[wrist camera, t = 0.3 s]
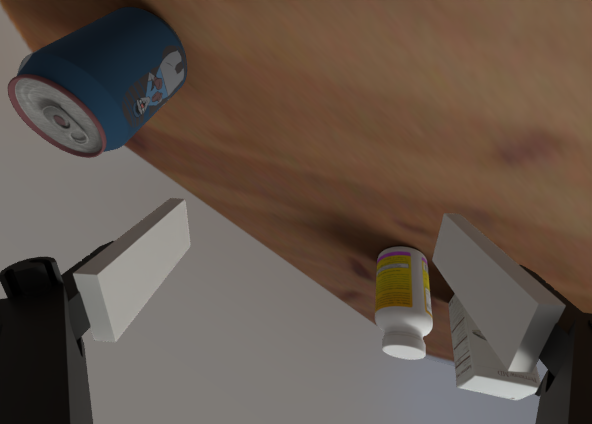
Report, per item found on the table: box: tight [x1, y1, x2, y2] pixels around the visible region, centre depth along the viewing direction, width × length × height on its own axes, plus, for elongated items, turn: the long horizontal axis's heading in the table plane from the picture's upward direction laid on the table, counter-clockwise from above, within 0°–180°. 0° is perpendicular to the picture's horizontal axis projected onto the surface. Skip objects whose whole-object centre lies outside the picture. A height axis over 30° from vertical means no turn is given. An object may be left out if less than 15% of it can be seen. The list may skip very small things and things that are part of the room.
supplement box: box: [449, 294, 541, 400], centre depth 41 cm, size 7×7×13 cm
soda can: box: [8, 7, 187, 158], centre depth 22 cm, size 7×7×12 cm
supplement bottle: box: [375, 246, 433, 359], centre depth 37 cm, size 7×7×13 cm
